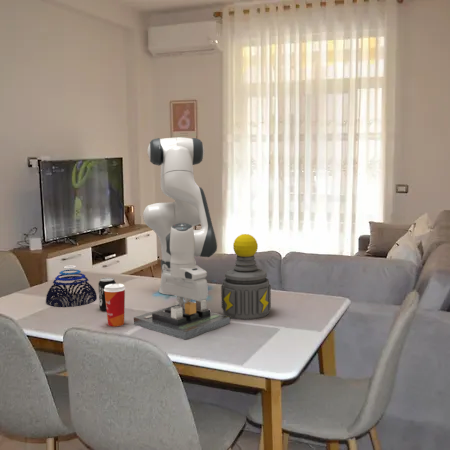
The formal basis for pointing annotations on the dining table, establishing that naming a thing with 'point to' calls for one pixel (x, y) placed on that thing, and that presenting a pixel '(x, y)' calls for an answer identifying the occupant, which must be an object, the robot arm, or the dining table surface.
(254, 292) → the decorative lamp
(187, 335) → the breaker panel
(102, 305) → the beverage can
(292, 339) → the dining table surface
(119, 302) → the paper cup
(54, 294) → the decorative bowl
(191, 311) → the block
